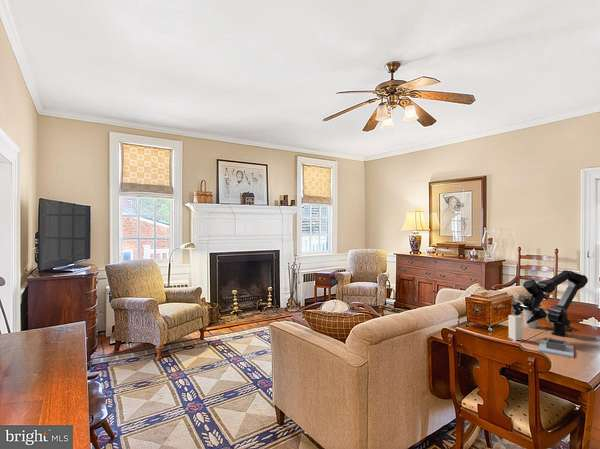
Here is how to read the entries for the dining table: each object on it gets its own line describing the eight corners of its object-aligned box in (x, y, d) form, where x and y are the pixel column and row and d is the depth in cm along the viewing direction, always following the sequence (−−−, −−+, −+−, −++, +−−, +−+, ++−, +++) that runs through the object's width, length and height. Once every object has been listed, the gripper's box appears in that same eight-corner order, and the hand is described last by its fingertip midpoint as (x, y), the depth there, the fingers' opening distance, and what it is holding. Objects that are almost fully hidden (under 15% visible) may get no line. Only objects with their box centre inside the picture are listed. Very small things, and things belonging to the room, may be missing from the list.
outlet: (540, 341, 188) (540, 334, 188) (573, 347, 180) (573, 339, 180) (538, 351, 174) (538, 343, 174) (573, 358, 166) (573, 349, 166)
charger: (515, 337, 195) (514, 314, 195) (522, 340, 191) (522, 316, 191) (508, 338, 194) (508, 314, 194) (515, 341, 190) (515, 316, 190)
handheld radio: (551, 320, 229) (573, 332, 205) (545, 320, 230) (567, 332, 205) (550, 310, 229) (573, 321, 205) (545, 310, 230) (566, 321, 205)
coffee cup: (539, 325, 218) (539, 301, 218) (540, 329, 210) (540, 304, 210) (521, 323, 223) (521, 300, 223) (521, 327, 215) (521, 303, 215)
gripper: (513, 287, 204) (497, 307, 201) (543, 293, 186) (526, 315, 183) (523, 299, 206) (508, 319, 203) (554, 307, 188) (538, 329, 185)
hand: (519, 320), depth 193 cm, fingers open, 9 cm apart
